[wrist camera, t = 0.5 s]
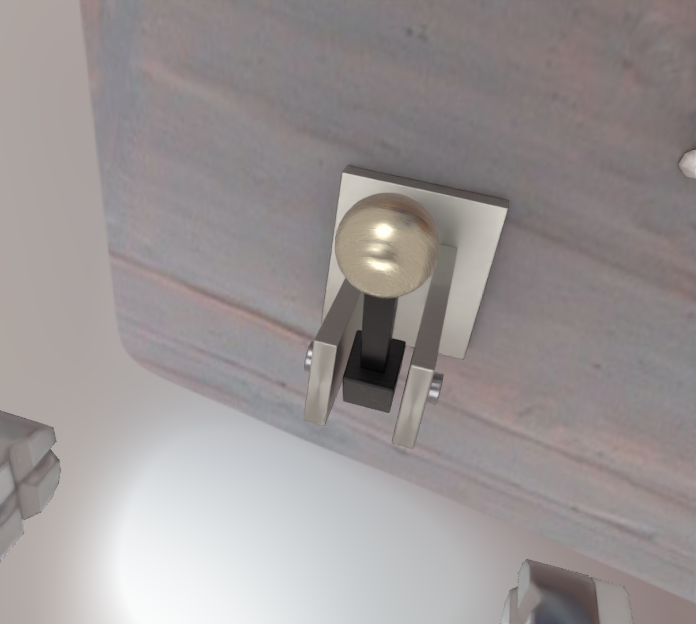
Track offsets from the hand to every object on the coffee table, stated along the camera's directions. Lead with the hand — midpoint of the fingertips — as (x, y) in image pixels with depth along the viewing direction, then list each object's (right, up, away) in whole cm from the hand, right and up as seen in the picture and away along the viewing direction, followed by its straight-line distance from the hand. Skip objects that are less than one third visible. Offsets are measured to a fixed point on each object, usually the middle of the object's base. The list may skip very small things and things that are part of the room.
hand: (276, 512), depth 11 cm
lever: (+3, +4, +14) cm, 15 cm away
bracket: (+5, +6, +27) cm, 28 cm away
